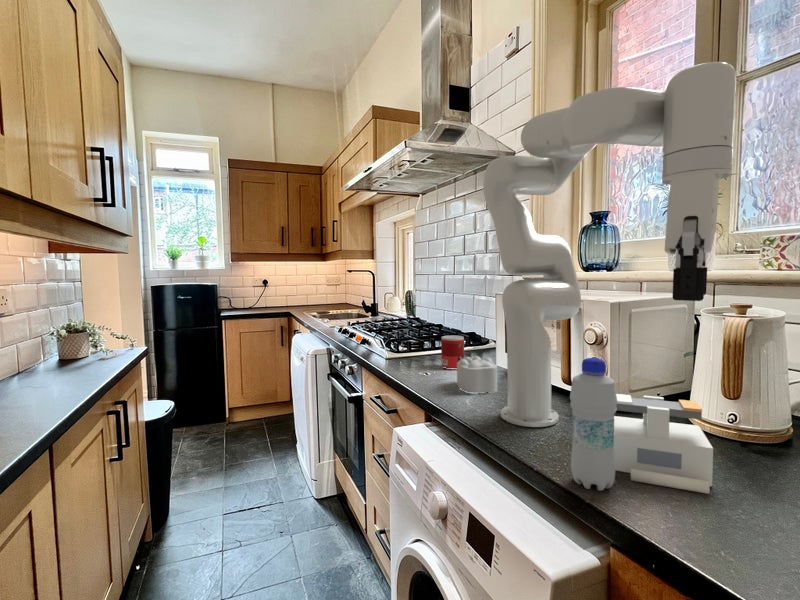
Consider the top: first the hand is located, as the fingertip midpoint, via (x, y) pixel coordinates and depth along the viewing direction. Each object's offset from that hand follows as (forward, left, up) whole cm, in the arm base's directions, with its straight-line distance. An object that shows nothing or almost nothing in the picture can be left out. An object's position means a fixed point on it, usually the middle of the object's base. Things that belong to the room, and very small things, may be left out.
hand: (690, 297), depth 56 cm
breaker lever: (-13, -2, -20) cm, 24 cm away
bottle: (-2, -12, -30) cm, 32 cm away
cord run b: (-6, -1, -30) cm, 30 cm away
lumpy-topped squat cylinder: (-48, -43, -30) cm, 71 cm away
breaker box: (-13, -2, -30) cm, 32 cm away
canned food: (-69, -57, -30) cm, 95 cm away
